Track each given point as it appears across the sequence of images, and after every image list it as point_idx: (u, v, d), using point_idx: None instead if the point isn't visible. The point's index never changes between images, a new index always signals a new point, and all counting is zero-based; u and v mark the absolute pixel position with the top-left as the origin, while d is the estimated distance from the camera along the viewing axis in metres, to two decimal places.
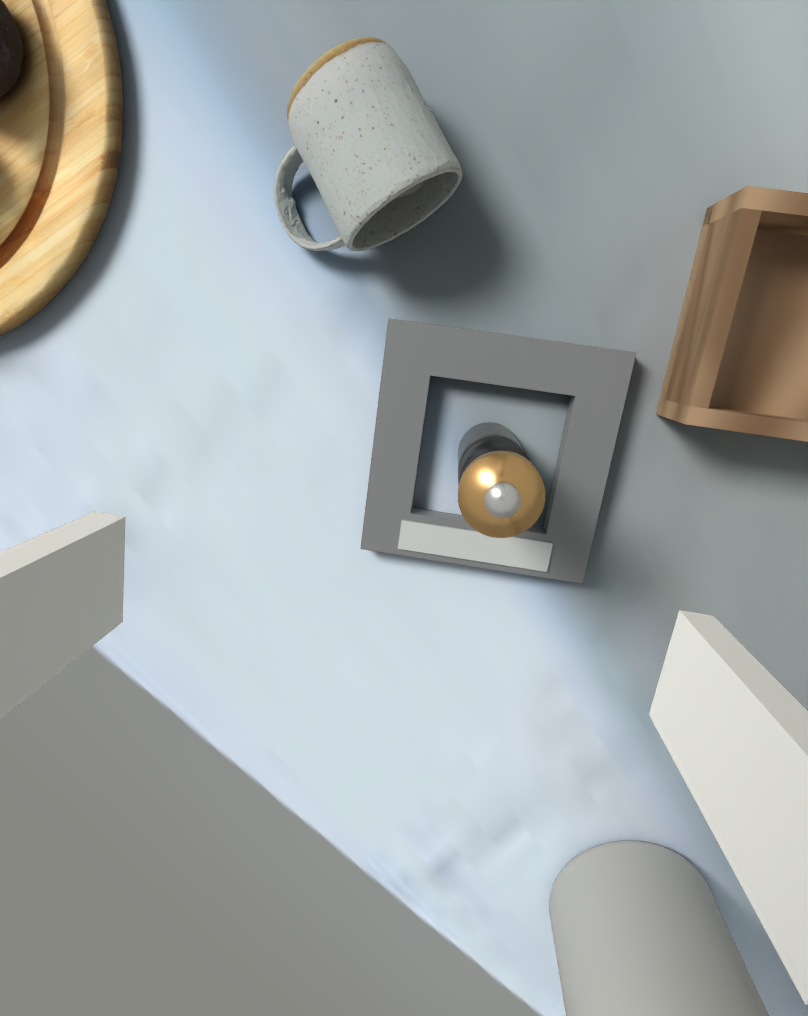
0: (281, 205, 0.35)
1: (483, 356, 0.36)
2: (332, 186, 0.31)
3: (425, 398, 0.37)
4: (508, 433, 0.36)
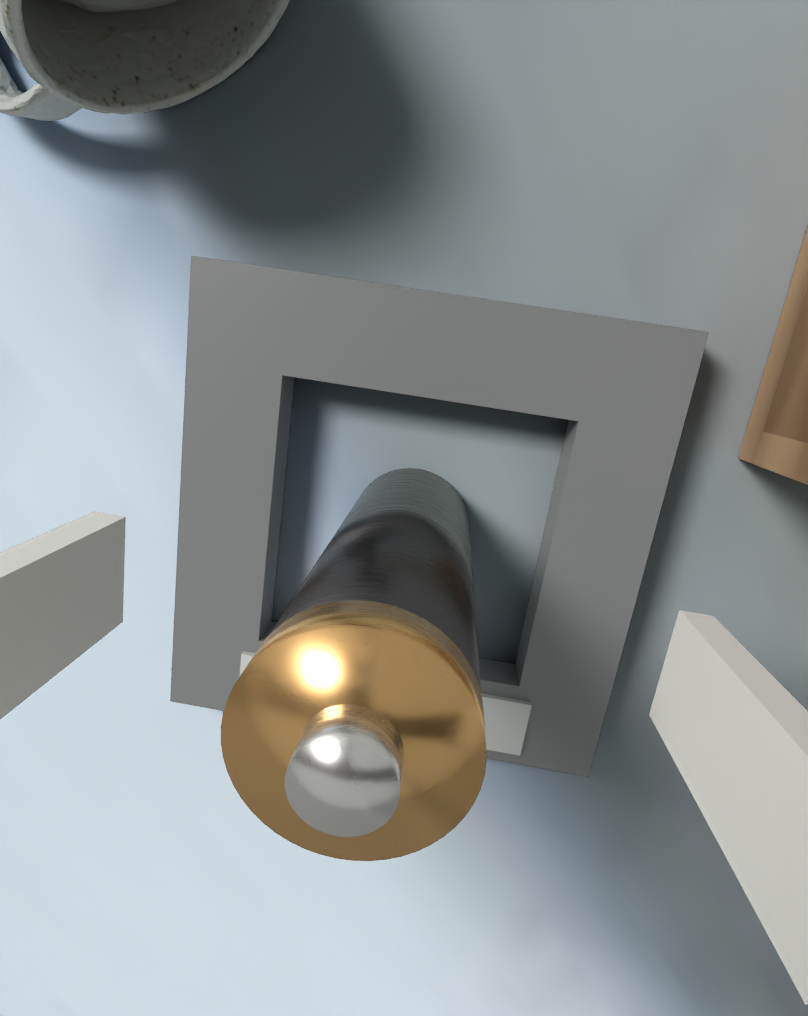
0: None
1: (388, 337, 0.18)
2: None
3: (275, 421, 0.18)
4: (436, 500, 0.17)
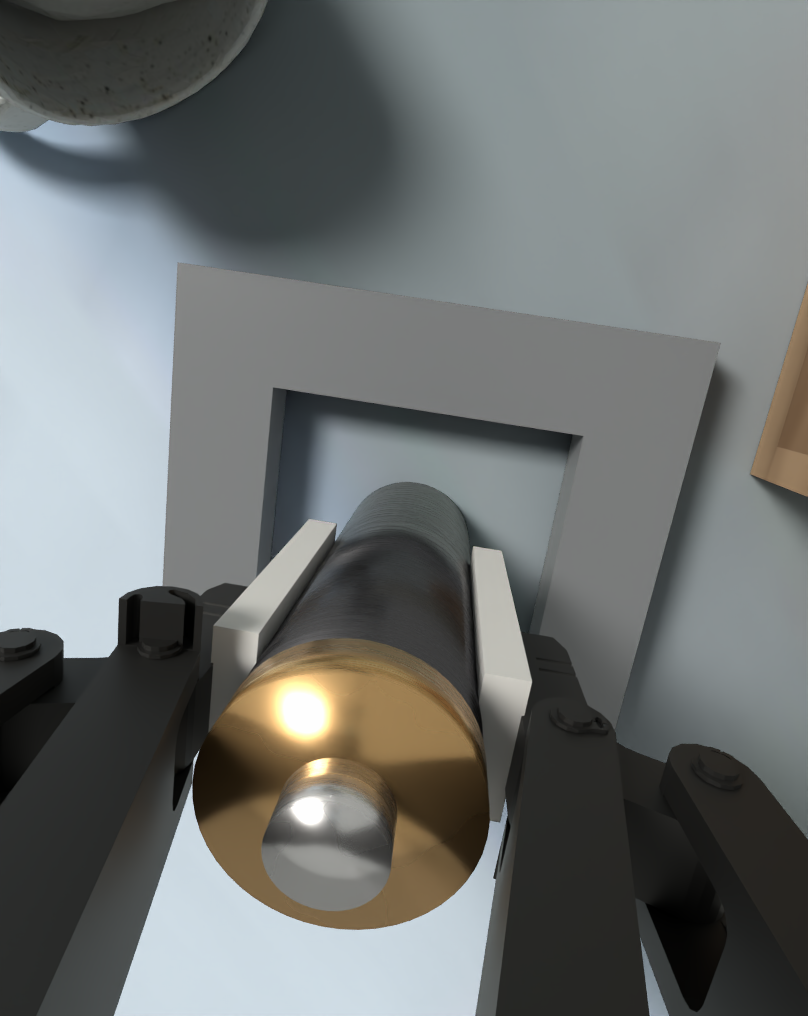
0: None
1: (384, 347, 0.17)
2: None
3: (265, 436, 0.18)
4: (435, 517, 0.16)
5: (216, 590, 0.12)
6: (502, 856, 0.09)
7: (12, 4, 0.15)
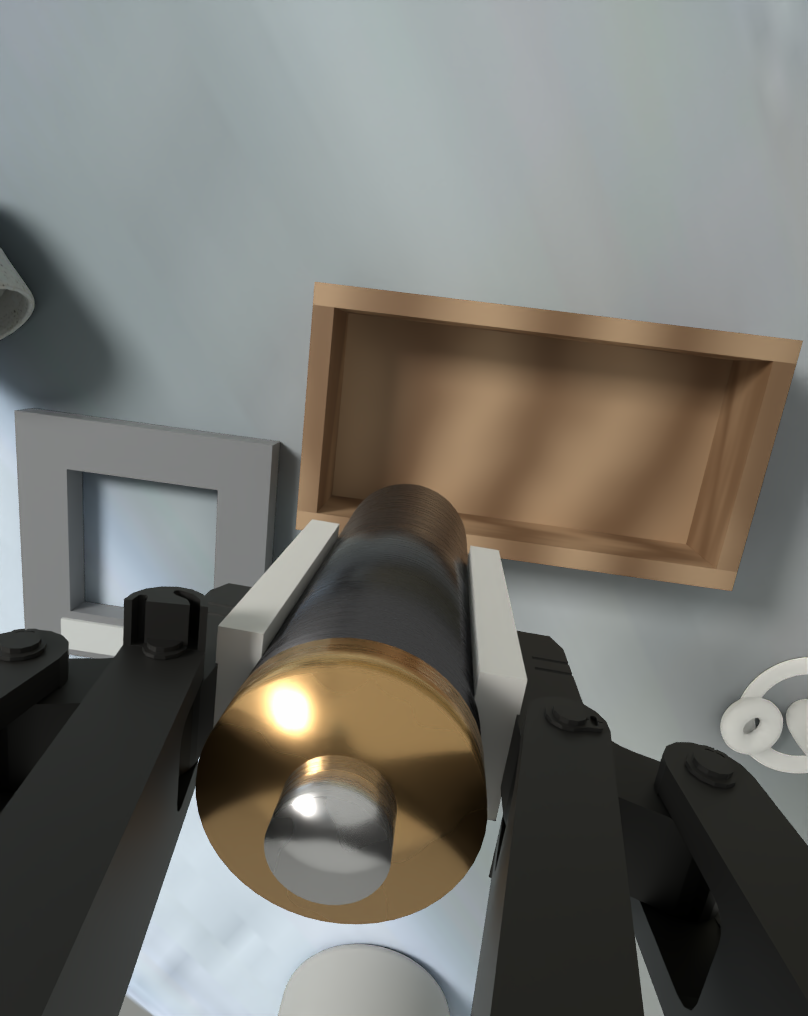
0: None
1: (117, 449, 0.34)
2: None
3: (65, 492, 0.35)
4: (432, 518, 0.16)
5: (220, 590, 0.12)
6: (497, 855, 0.09)
7: None
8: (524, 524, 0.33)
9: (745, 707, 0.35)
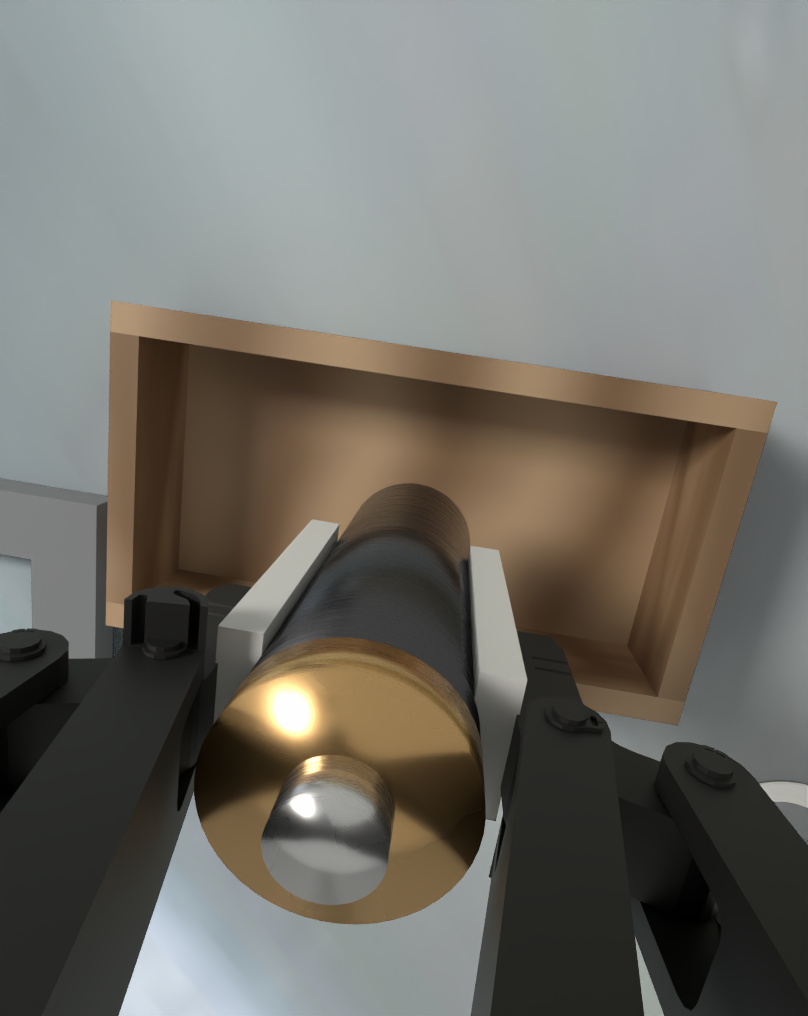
0: None
1: None
2: None
3: None
4: (435, 517, 0.16)
5: (220, 590, 0.12)
6: (497, 855, 0.09)
7: None
8: None
9: None
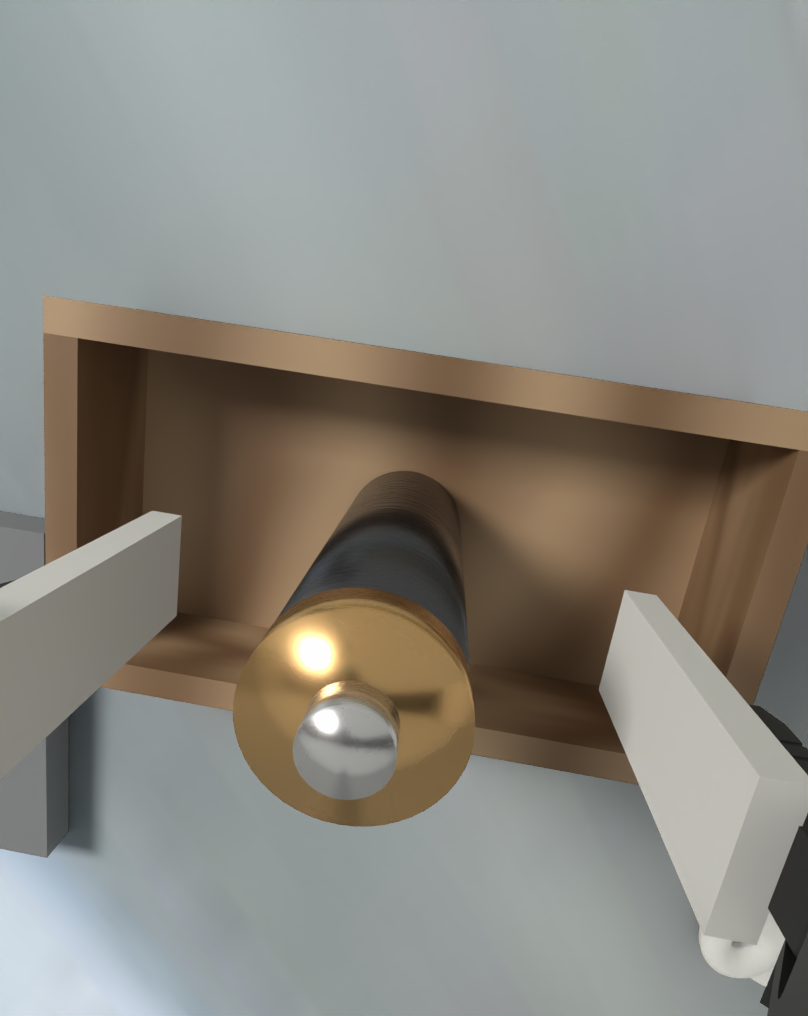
0: None
1: None
2: None
3: None
4: (428, 499, 0.18)
5: (0, 586, 0.11)
6: (781, 980, 0.07)
7: None
8: None
9: None
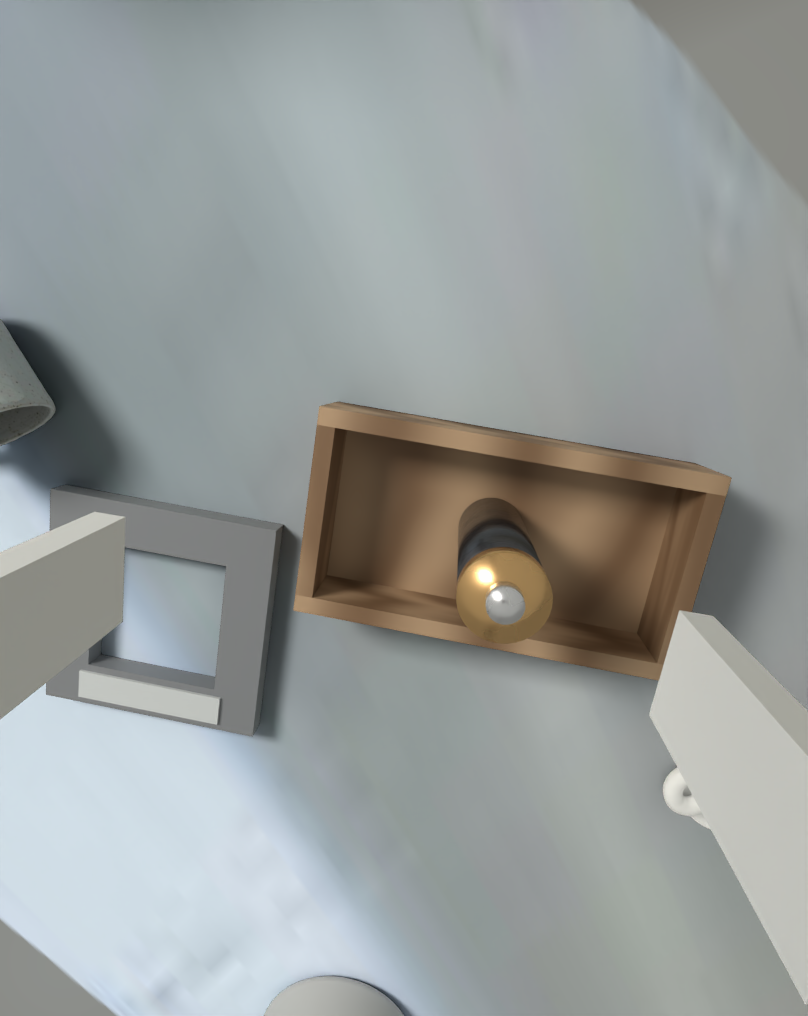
0: None
1: (139, 526, 0.38)
2: None
3: None
4: (512, 514, 0.33)
5: None
6: None
7: None
8: None
9: None
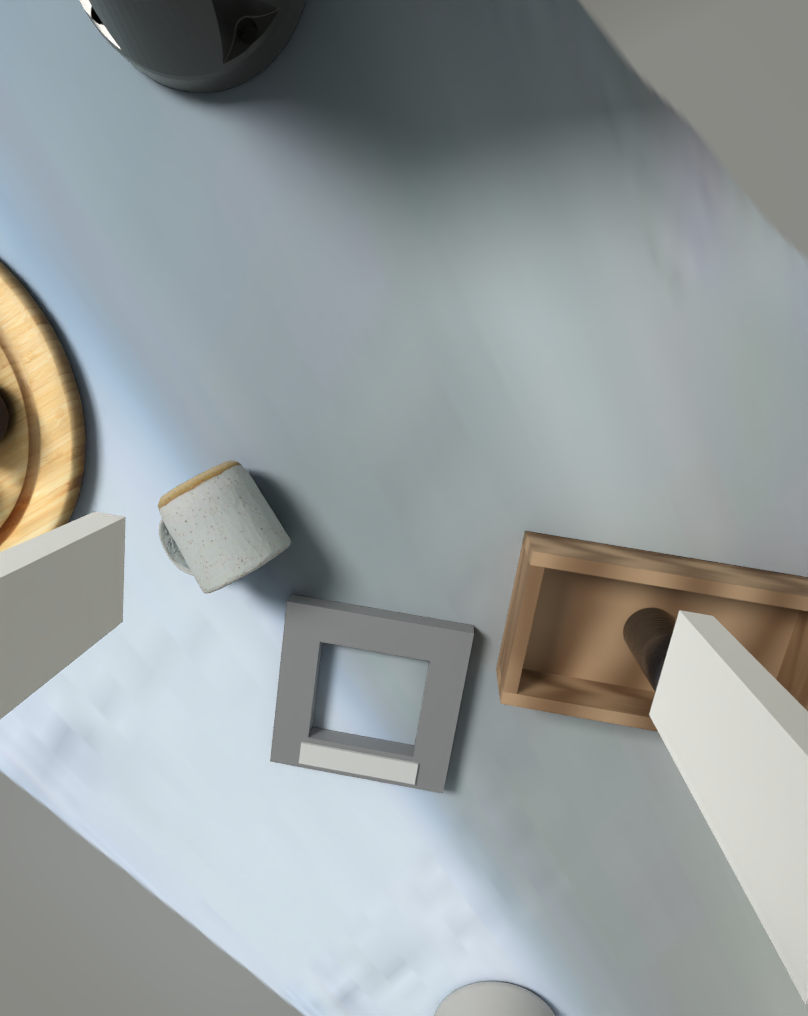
0: (165, 540, 0.47)
1: (359, 630, 0.47)
2: (189, 564, 0.42)
3: (316, 657, 0.48)
4: None
5: None
6: None
7: None
8: (651, 694, 0.47)
9: None
